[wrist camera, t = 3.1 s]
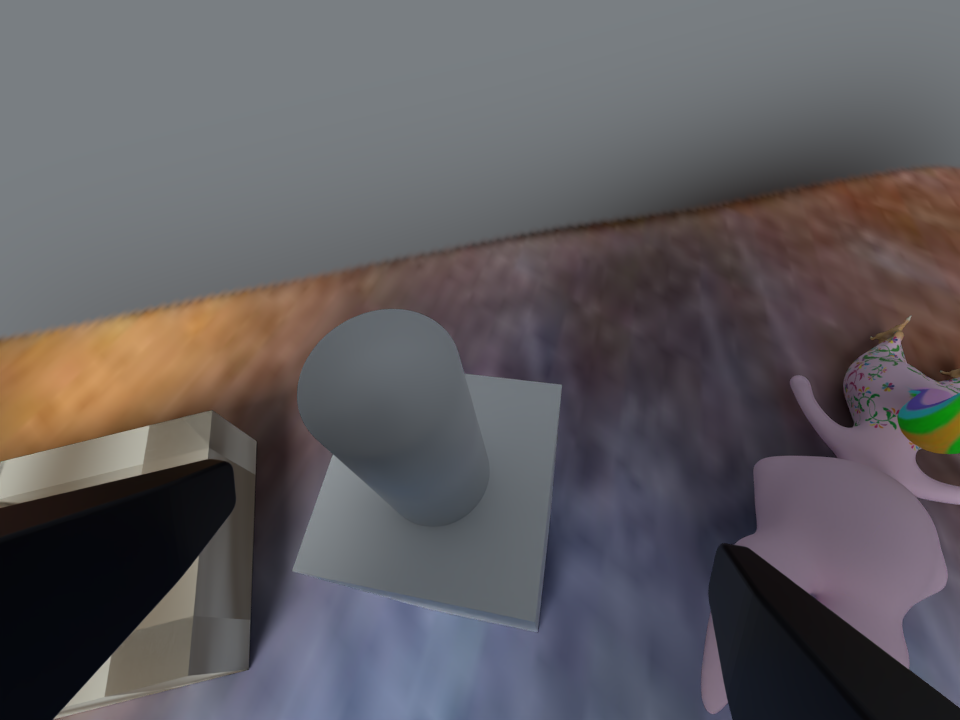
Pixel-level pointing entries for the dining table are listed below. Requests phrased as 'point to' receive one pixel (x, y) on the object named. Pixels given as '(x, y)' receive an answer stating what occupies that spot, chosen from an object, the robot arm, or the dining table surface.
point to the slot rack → (206, 584)
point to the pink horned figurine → (858, 502)
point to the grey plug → (428, 472)
